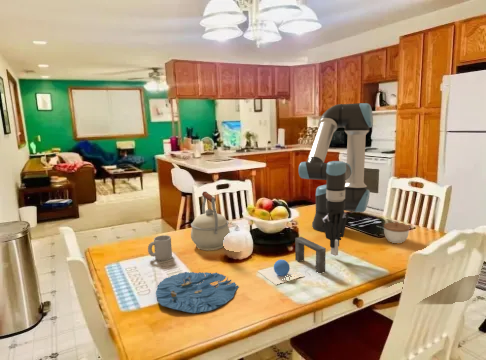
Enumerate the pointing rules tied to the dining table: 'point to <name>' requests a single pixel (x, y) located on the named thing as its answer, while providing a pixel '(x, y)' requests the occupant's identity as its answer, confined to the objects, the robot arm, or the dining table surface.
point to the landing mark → (275, 278)
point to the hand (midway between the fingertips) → (334, 254)
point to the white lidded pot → (396, 232)
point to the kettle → (209, 227)
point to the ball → (281, 267)
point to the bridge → (319, 249)
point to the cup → (161, 247)
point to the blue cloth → (195, 291)
